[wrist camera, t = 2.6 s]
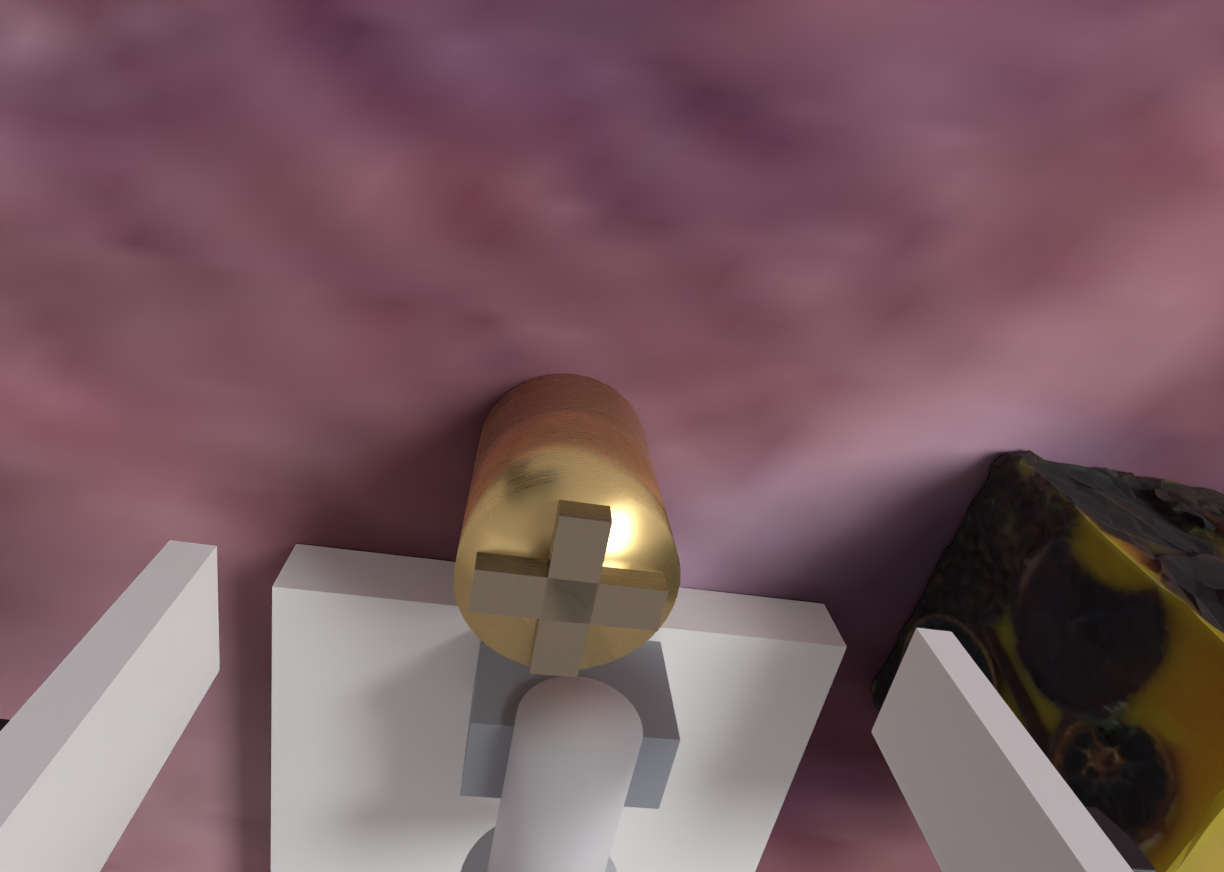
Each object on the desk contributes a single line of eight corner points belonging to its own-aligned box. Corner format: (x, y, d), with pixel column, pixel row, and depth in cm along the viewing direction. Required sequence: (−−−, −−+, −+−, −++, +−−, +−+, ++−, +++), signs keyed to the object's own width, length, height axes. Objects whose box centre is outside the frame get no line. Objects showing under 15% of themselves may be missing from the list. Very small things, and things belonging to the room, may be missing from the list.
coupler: (489, 361, 19) (463, 484, 13) (661, 387, 20) (710, 516, 14) (469, 512, 21) (438, 679, 15) (627, 531, 22) (657, 699, 16)
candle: (1278, 501, 23) (1743, 764, 14) (1110, 734, 27) (1389, 1055, 18) (996, 435, 21) (1322, 688, 12) (859, 695, 25) (1031, 1031, 16)
